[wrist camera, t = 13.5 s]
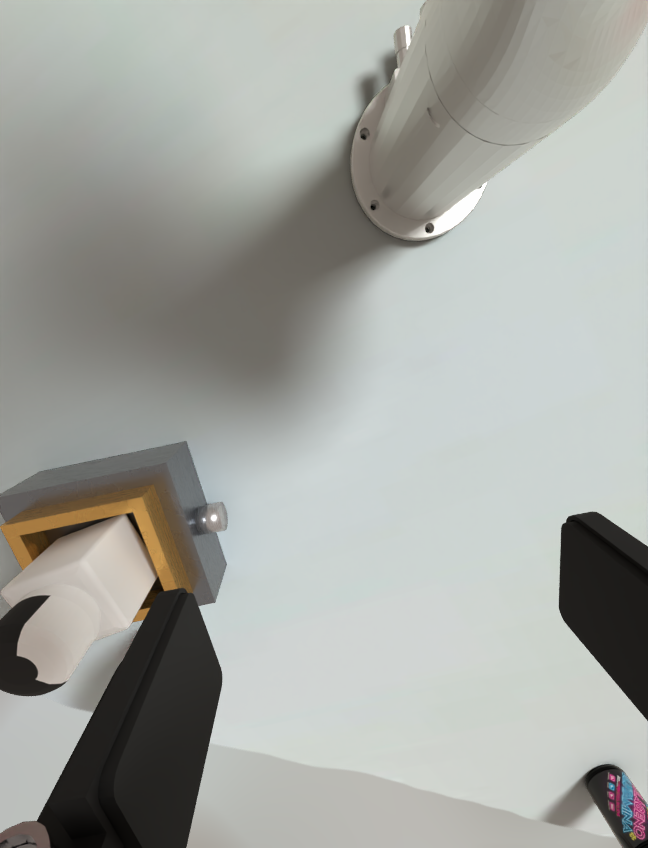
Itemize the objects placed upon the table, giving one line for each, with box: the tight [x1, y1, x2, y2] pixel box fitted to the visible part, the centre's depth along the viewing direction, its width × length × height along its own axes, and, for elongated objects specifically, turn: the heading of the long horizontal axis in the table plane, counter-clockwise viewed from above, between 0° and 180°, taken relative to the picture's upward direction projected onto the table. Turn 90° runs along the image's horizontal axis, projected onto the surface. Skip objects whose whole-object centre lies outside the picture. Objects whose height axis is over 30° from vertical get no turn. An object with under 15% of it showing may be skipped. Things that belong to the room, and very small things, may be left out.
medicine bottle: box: [0, 514, 158, 696], centre depth 29 cm, size 7×7×12 cm
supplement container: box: [585, 765, 648, 848], centre depth 54 cm, size 7×7×10 cm
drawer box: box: [0, 442, 228, 622], centre depth 36 cm, size 16×18×8 cm
